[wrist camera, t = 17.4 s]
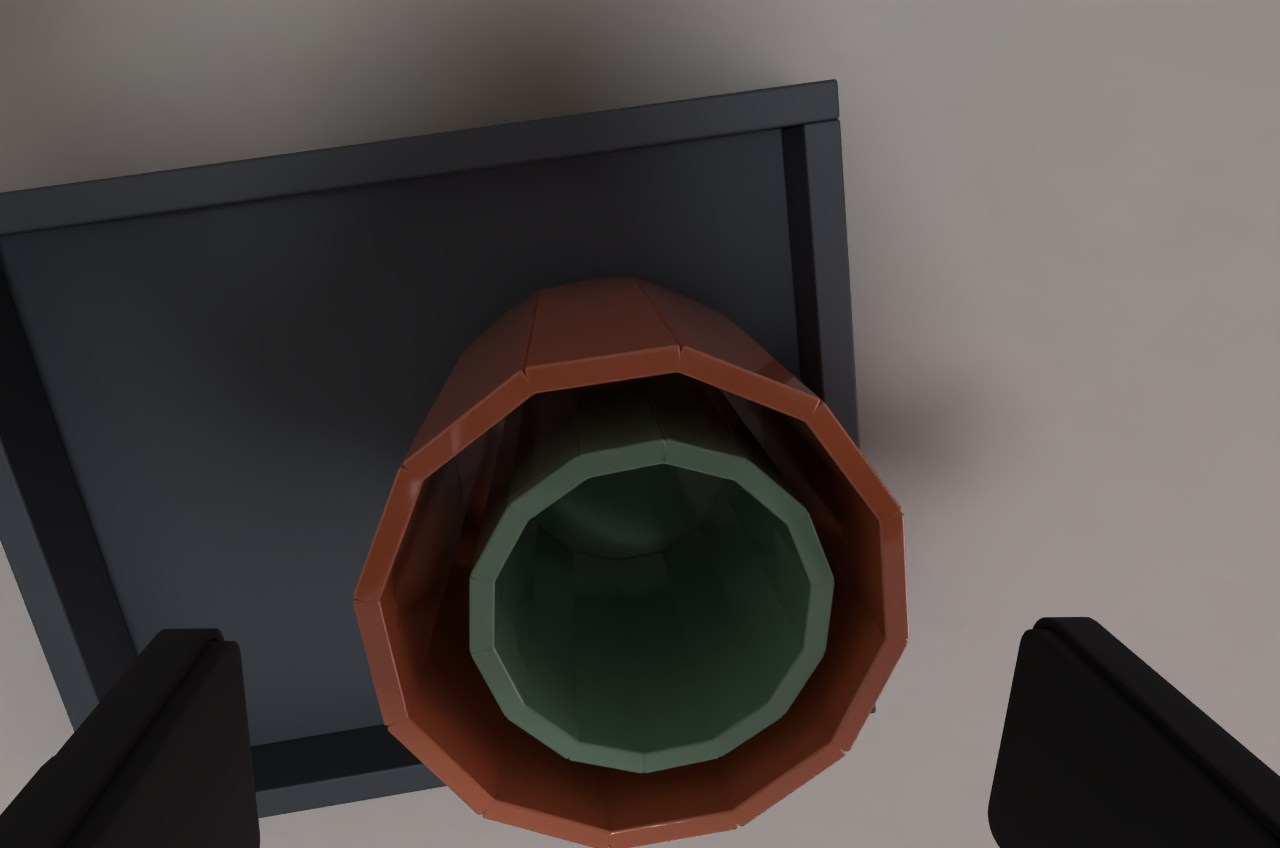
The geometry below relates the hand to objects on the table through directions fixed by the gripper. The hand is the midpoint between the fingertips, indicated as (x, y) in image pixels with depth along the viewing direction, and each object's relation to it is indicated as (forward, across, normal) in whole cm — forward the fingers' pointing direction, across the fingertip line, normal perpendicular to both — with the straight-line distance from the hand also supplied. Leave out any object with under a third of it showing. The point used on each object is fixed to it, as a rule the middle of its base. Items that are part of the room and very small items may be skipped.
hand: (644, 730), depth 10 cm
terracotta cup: (+12, 0, 0) cm, 12 cm away
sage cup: (+11, -1, 0) cm, 11 cm away
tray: (+13, +4, +1) cm, 13 cm away
